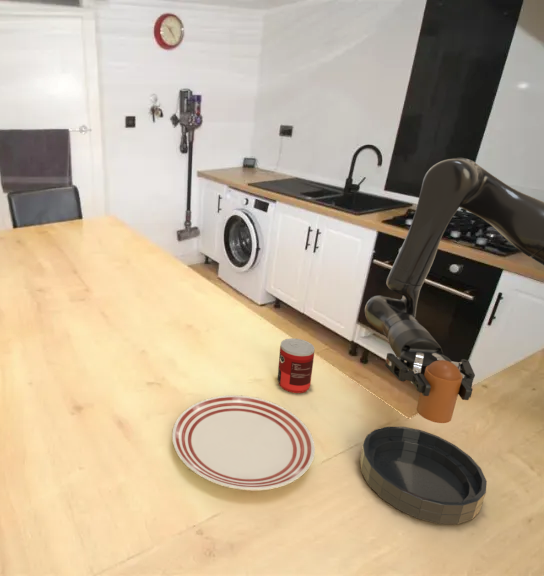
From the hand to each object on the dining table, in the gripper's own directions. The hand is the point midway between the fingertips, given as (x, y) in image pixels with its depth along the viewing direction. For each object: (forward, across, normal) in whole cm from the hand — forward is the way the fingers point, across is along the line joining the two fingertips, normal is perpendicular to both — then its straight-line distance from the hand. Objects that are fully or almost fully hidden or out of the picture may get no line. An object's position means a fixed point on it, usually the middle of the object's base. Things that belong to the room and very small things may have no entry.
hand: (447, 393), depth 67 cm
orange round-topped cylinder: (-3, 0, +6) cm, 7 cm away
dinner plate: (-1, -33, +18) cm, 38 cm away
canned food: (-26, -21, +18) cm, 38 cm away
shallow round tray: (+1, -2, +18) cm, 18 cm away
